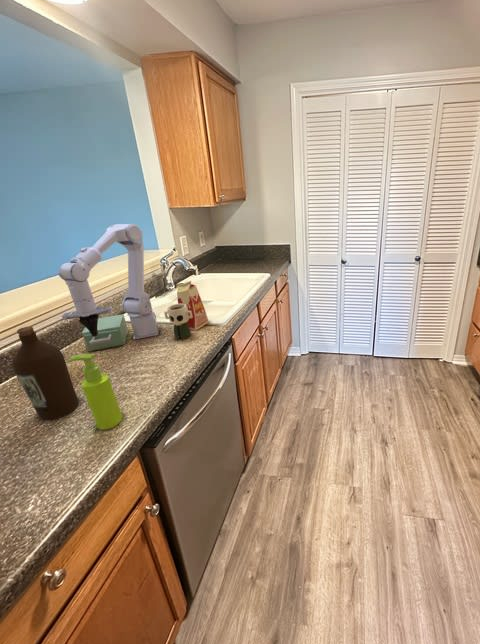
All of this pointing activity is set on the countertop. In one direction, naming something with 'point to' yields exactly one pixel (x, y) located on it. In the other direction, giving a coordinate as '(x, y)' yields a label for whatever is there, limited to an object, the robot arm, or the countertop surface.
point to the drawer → (103, 339)
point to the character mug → (179, 319)
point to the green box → (110, 327)
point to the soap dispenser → (99, 393)
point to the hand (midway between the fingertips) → (95, 334)
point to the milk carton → (192, 305)
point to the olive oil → (44, 376)
